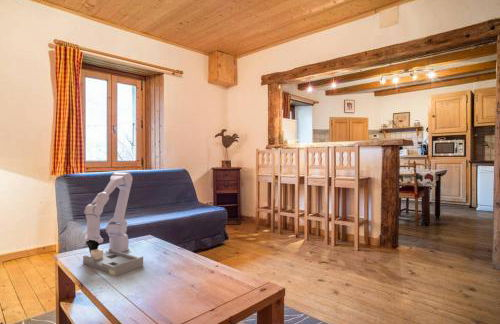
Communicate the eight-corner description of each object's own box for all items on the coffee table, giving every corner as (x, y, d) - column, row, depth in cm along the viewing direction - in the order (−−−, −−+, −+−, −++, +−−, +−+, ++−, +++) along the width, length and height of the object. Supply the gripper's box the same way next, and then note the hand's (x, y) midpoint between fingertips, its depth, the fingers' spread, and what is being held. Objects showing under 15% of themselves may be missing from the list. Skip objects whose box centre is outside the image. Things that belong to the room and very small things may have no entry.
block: (98, 256, 146) (98, 248, 146) (103, 257, 144) (103, 249, 144) (90, 258, 143) (90, 250, 143) (95, 260, 141) (95, 251, 141)
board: (110, 255, 154) (110, 246, 154) (143, 266, 138) (143, 256, 138) (83, 263, 142) (83, 253, 142) (115, 276, 127) (115, 265, 127)
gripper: (77, 227, 146) (77, 254, 146) (93, 231, 138) (92, 259, 138) (92, 224, 152) (91, 250, 152) (107, 228, 144) (107, 255, 144)
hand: (93, 254), depth 145 cm, fingers closed
